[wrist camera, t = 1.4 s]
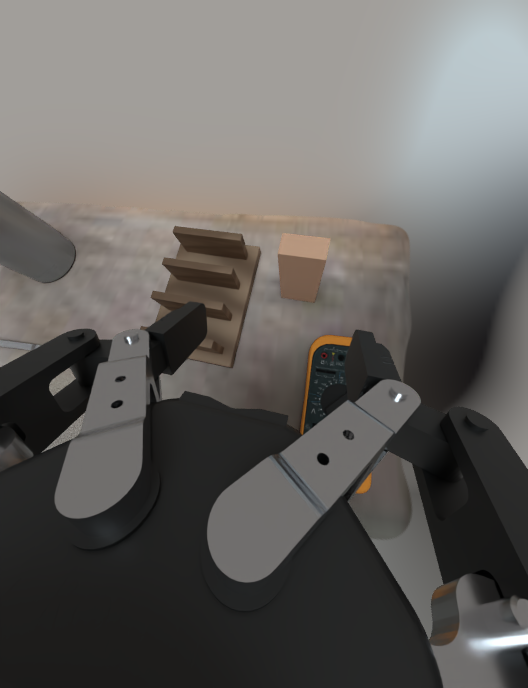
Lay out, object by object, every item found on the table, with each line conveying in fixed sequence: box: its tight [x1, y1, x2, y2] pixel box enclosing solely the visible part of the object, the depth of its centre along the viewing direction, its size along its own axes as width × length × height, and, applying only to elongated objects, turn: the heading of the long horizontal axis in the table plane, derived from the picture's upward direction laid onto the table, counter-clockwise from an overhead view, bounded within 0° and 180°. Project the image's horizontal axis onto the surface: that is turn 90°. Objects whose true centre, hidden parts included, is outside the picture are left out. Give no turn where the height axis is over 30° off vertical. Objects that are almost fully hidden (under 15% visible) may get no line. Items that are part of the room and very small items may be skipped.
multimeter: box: [300, 335, 371, 494], centre depth 28 cm, size 9×18×3 cm, turn 171°
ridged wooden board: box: [140, 226, 261, 368], centre depth 32 cm, size 19×13×6 cm
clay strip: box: [278, 233, 330, 303], centre depth 28 cm, size 2×5×11 cm, turn 78°
